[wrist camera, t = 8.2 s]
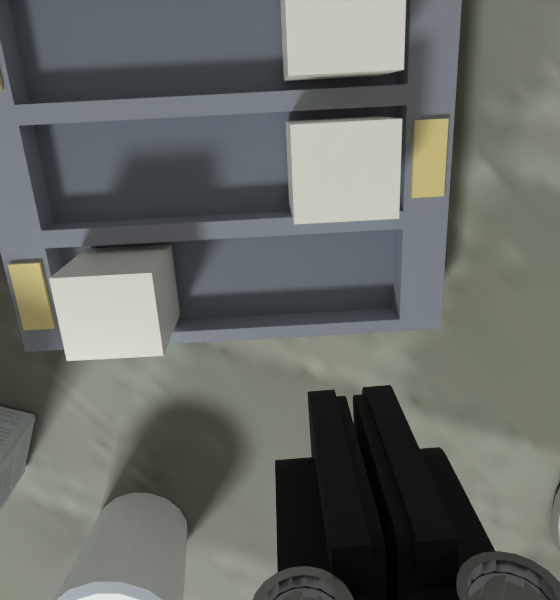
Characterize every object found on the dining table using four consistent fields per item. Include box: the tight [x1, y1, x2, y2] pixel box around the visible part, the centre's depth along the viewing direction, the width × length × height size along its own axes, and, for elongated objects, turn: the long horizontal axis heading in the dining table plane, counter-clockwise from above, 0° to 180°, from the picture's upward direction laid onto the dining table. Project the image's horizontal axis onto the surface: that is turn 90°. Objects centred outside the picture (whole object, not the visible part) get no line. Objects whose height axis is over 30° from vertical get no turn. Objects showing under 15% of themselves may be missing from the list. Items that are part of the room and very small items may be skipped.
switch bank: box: [0, 0, 462, 352], centre depth 24 cm, size 20×16×3 cm
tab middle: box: [286, 116, 402, 224], centre depth 21 cm, size 4×4×4 cm
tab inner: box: [49, 244, 180, 361], centre depth 23 cm, size 4×4×4 cm
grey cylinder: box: [54, 493, 187, 600], centre depth 29 cm, size 7×7×7 cm
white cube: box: [280, 0, 406, 81], centre depth 19 cm, size 4×4×4 cm
